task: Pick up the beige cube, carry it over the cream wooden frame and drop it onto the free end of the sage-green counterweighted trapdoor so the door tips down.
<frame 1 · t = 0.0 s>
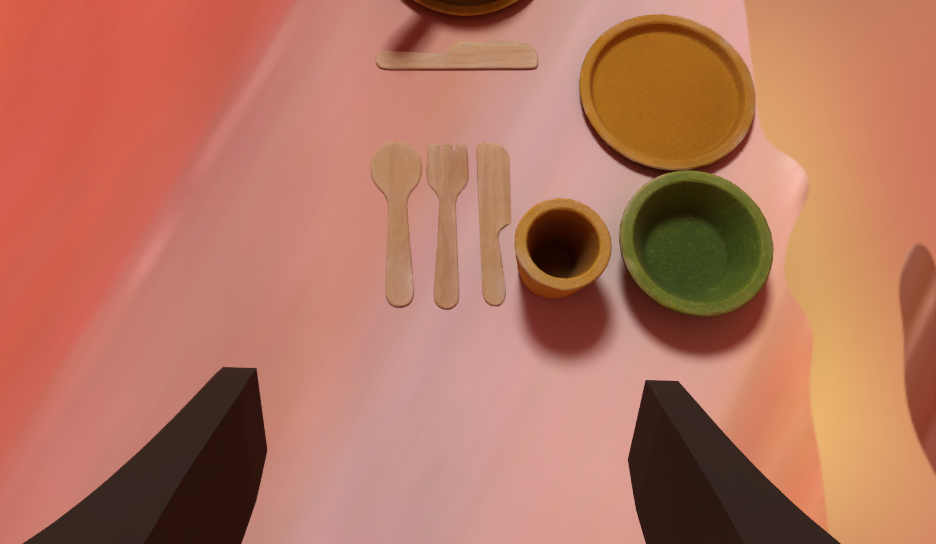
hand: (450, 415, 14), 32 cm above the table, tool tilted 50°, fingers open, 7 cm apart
tableware set: (559, 63, 55), on the table
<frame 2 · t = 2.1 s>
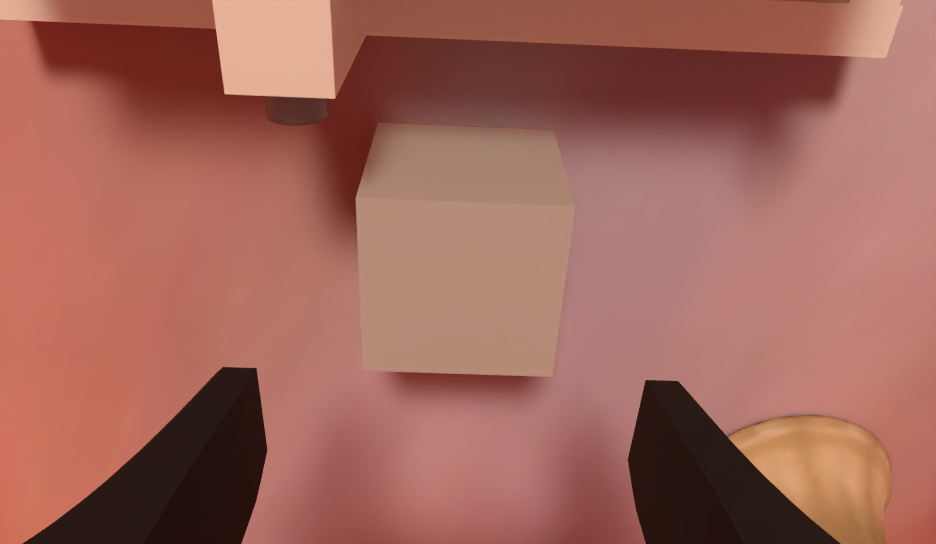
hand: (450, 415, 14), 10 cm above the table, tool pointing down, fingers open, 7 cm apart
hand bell: (778, 488, 29), on the table
beige cube: (462, 203, 22), on the table
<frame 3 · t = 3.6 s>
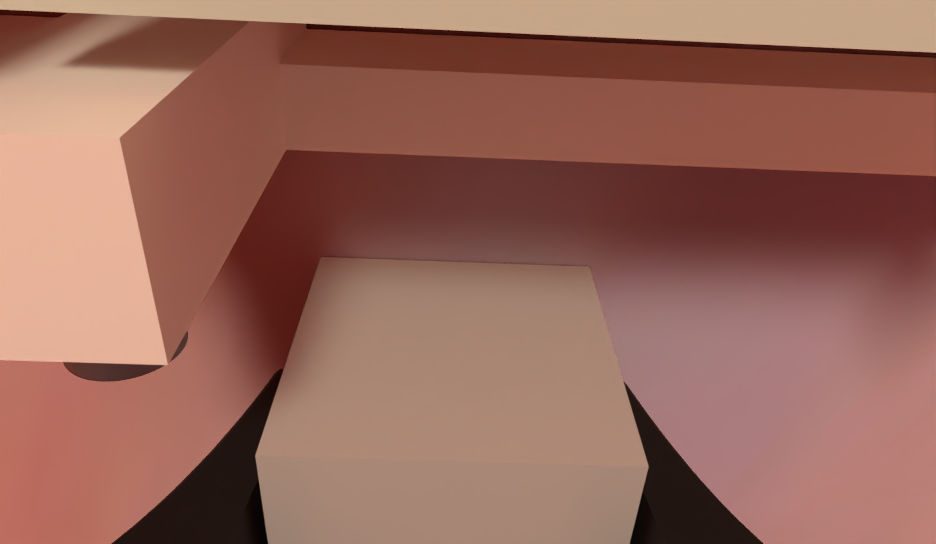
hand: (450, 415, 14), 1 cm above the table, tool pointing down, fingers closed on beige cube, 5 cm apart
beige cube: (451, 367, 15), on the table, touching gripper
when the fingers open (9 cm above the table, at t = 7.5 s): beige cube drops 5 cm, resting on trapdoor.
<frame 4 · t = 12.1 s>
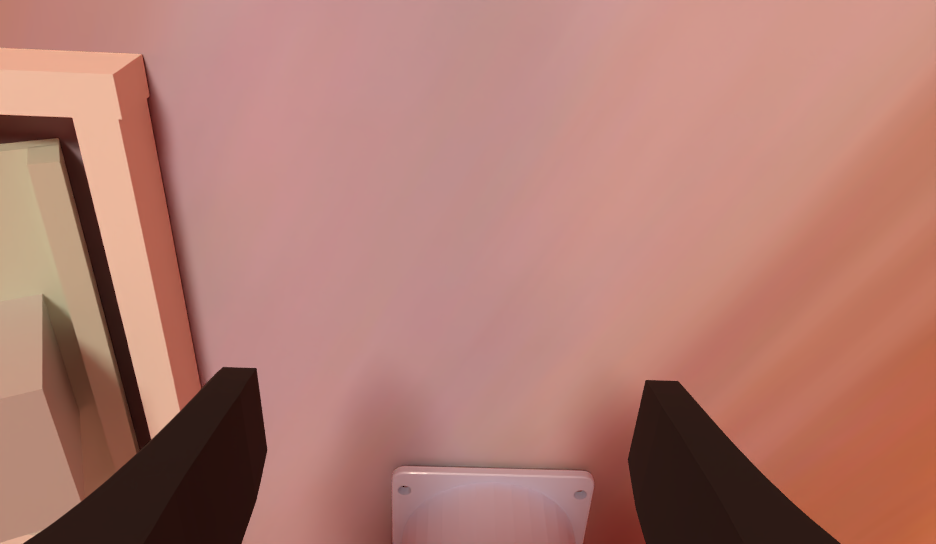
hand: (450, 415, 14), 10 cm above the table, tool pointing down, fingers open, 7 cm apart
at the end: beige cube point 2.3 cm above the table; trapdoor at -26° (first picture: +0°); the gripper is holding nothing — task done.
